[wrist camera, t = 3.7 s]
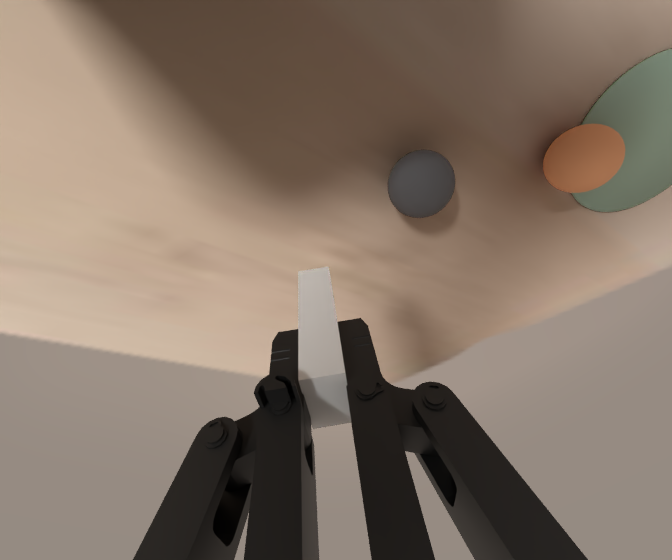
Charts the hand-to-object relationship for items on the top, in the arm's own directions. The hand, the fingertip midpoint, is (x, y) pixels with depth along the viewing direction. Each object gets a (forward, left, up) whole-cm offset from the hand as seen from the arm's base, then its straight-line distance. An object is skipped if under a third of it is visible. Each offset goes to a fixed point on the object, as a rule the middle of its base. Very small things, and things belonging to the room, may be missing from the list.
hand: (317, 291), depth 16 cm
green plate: (+32, 0, -16) cm, 35 cm away
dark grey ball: (+10, 0, -13) cm, 16 cm away
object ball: (+24, 0, -13) cm, 27 cm away
